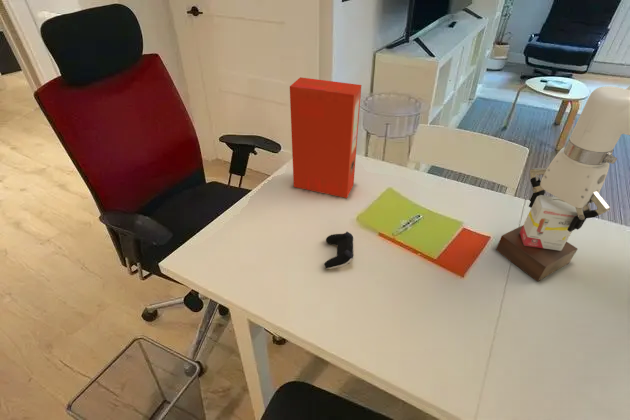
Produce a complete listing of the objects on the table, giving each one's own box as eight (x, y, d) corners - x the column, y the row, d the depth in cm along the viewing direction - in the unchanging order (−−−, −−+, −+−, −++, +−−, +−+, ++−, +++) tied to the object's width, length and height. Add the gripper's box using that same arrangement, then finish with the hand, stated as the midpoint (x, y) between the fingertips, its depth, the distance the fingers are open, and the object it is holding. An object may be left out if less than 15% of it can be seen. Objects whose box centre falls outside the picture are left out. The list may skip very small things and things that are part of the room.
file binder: (303, 174, 122) (300, 76, 102) (353, 184, 118) (361, 84, 98) (293, 187, 117) (289, 86, 96) (346, 198, 112) (353, 95, 92)
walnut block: (526, 234, 100) (533, 220, 96) (569, 263, 91) (578, 248, 88) (495, 249, 95) (501, 235, 92) (537, 281, 87) (545, 267, 84)
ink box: (522, 246, 89) (540, 207, 82) (519, 232, 93) (536, 194, 85) (562, 252, 87) (584, 212, 80) (556, 238, 91) (577, 199, 84)
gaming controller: (334, 277, 91) (356, 264, 88) (322, 267, 89) (344, 254, 86) (335, 246, 99) (356, 233, 96) (324, 236, 97) (344, 223, 94)
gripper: (643, 166, 70) (600, 233, 81) (557, 129, 82) (529, 192, 92) (621, 177, 67) (579, 245, 78) (535, 137, 79) (509, 201, 90)
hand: (552, 216), depth 85 cm, fingers closed on ink box, 9 cm apart
